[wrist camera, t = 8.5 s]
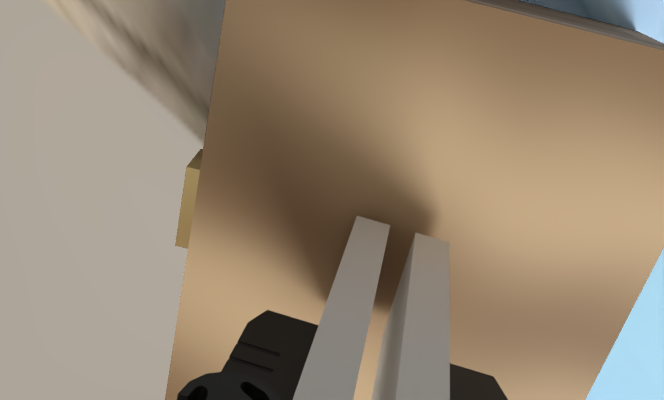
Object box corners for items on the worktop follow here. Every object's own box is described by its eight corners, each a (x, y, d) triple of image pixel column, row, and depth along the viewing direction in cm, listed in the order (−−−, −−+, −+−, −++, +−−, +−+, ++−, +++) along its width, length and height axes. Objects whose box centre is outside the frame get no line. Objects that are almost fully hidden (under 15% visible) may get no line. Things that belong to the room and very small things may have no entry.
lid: (232, -62, 13) (218, -61, 12) (722, 60, 13) (753, 72, 12) (167, 369, 17) (153, 399, 16) (529, 452, 18) (539, 487, 17)
